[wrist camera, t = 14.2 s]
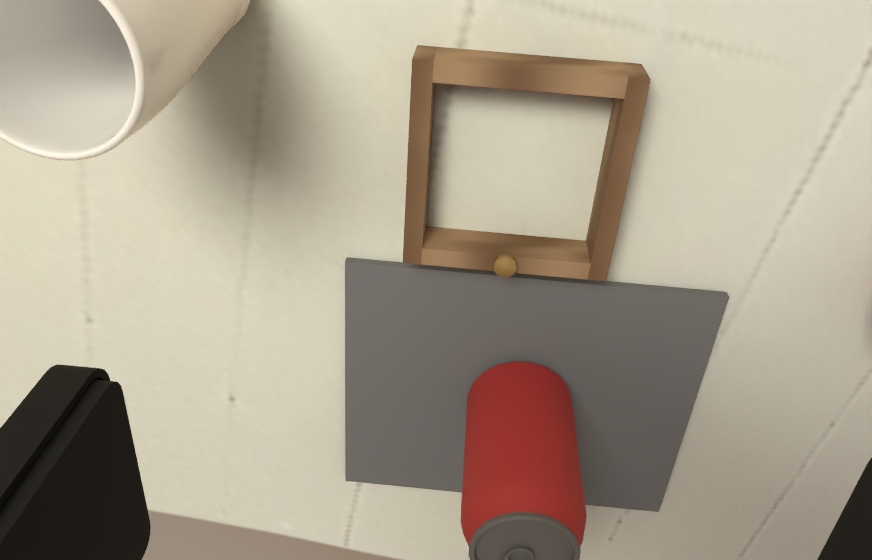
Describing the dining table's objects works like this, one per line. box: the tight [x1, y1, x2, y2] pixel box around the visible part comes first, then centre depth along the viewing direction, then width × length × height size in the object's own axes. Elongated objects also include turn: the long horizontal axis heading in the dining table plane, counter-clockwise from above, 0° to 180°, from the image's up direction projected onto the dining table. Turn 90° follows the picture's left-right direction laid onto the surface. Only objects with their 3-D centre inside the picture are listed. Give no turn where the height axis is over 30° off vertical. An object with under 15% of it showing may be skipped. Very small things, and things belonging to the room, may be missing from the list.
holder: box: [403, 45, 650, 281], centre depth 38 cm, size 11×11×3 cm
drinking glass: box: [0, 0, 251, 160], centre depth 29 cm, size 7×7×15 cm
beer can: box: [461, 361, 586, 560], centre depth 42 cm, size 7×7×12 cm
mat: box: [345, 258, 729, 512], centre depth 48 cm, size 22×18×1 cm
